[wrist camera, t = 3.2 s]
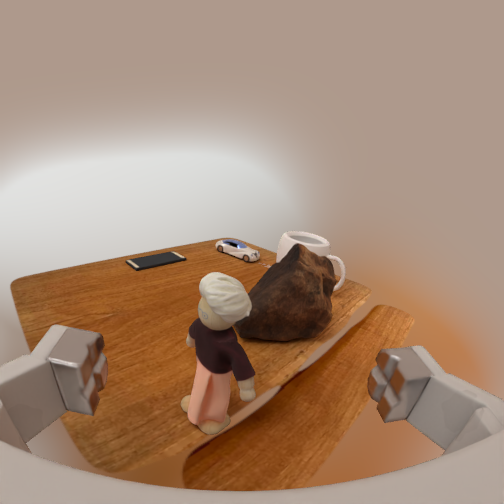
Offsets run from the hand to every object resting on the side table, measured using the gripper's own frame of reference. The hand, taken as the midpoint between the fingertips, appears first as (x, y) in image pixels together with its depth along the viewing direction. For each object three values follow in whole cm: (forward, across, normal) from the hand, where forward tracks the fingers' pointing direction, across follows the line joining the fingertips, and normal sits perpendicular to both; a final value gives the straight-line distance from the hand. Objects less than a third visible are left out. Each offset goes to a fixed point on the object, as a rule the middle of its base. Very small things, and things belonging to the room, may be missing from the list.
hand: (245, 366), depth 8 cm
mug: (+38, -14, +15) cm, 43 cm away
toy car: (+49, -5, +15) cm, 51 cm away
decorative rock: (+24, -7, +15) cm, 29 cm away
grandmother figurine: (+10, +1, +15) cm, 18 cm away
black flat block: (+42, +11, +14) cm, 46 cm away
